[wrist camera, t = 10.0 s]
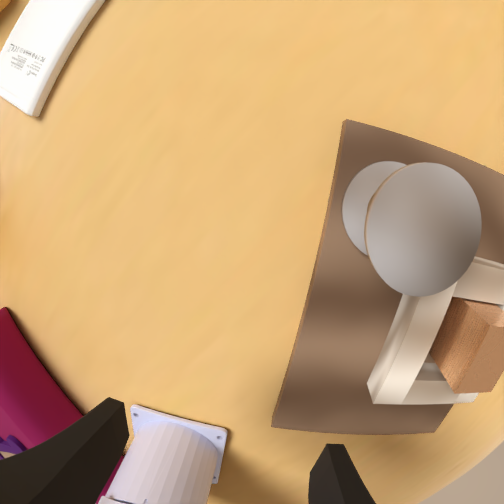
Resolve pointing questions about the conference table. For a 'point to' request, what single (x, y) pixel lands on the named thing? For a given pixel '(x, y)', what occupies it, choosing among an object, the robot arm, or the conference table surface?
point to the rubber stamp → (4, 4)
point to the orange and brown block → (470, 345)
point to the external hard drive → (41, 49)
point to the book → (30, 398)
